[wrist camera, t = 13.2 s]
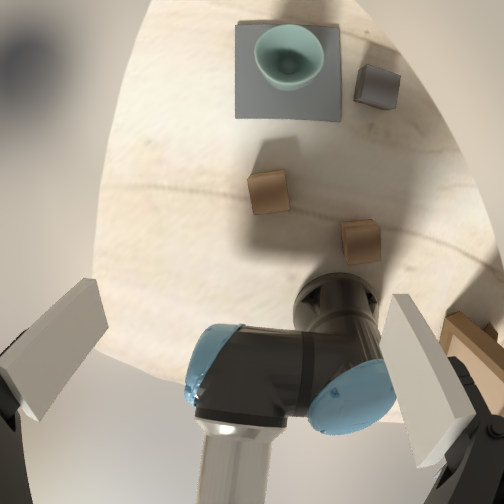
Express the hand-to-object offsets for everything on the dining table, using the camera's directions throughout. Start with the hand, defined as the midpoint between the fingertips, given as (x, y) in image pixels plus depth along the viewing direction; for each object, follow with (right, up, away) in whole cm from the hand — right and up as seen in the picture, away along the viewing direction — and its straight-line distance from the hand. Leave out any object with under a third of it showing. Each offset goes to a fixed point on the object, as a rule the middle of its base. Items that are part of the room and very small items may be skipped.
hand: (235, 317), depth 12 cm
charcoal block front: (+18, +27, +25) cm, 41 cm away
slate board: (+6, +29, +25) cm, 39 cm away
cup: (+6, +28, +25) cm, 38 cm away
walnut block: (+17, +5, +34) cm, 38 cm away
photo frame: (+47, -19, +41) cm, 65 cm away
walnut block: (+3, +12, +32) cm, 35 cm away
